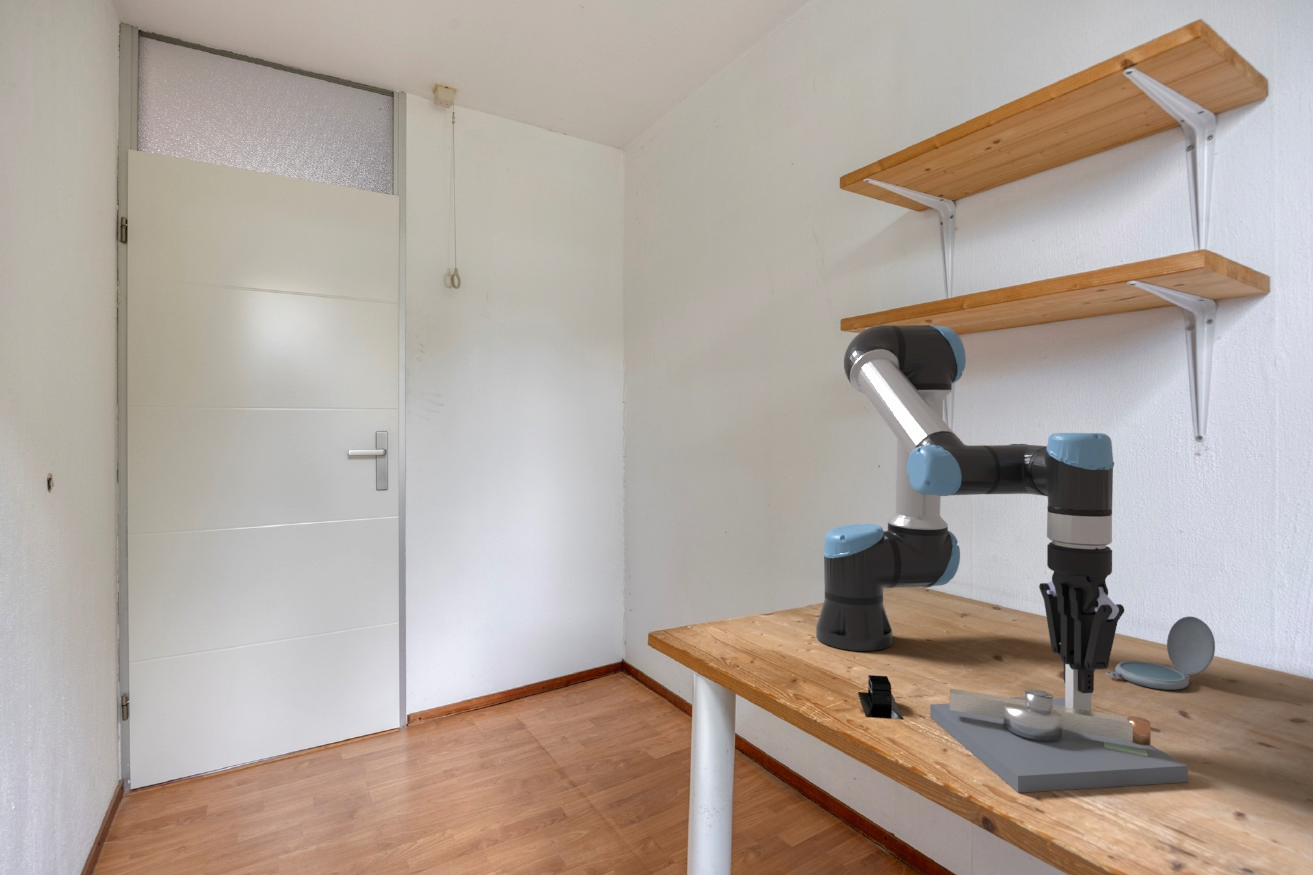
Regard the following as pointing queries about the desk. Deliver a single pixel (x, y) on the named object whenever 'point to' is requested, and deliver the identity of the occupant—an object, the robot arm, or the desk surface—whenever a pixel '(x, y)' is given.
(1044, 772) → the stand
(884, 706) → the black stepped block
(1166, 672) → the pocket watch
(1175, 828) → the desk surface
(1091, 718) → the rotary pointer lever
